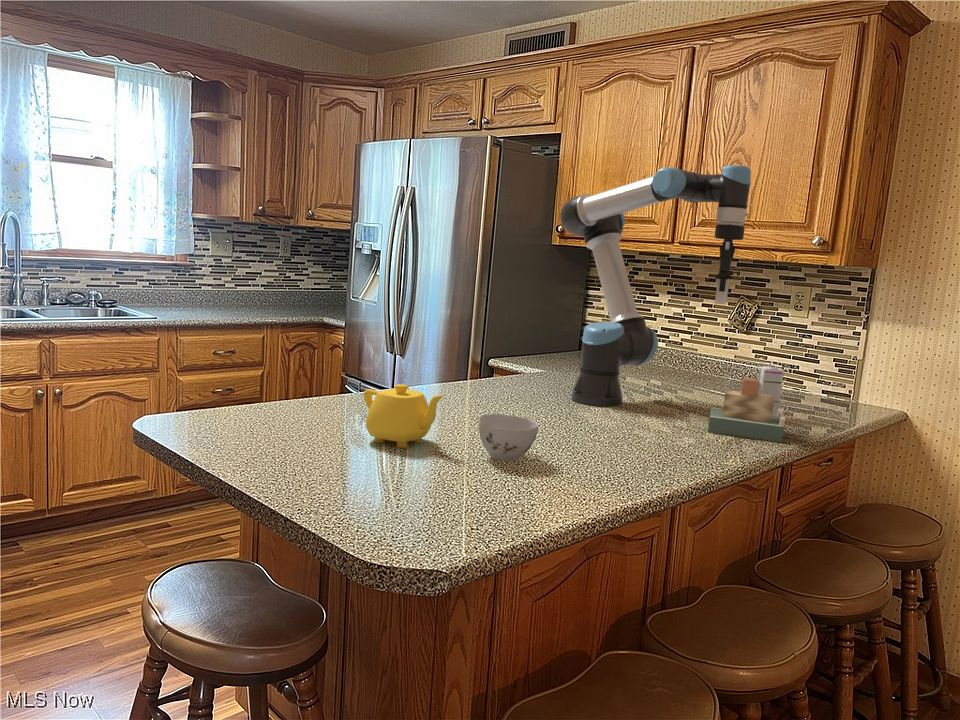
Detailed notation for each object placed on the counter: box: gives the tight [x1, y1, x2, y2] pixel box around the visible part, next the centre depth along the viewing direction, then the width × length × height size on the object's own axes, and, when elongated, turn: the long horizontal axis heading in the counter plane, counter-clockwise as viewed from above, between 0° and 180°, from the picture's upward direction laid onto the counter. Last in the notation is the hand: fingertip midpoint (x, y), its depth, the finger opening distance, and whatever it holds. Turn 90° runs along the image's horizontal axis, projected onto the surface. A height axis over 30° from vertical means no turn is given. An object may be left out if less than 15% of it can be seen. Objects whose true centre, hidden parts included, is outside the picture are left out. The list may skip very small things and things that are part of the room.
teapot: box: [363, 383, 445, 449], centre depth 163 cm, size 13×20×12 cm
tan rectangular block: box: [722, 389, 774, 422], centre depth 199 cm, size 12×6×6 cm, turn 71°
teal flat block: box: [707, 407, 786, 443], centre depth 199 cm, size 18×14×6 cm
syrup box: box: [758, 365, 785, 416], centre depth 222 cm, size 6×6×14 cm
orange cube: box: [740, 377, 760, 397], centre depth 198 cm, size 4×4×4 cm
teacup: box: [478, 413, 539, 463], centre depth 157 cm, size 15×12×8 cm
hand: (720, 303), depth 207 cm, fingers open, 13 cm apart
